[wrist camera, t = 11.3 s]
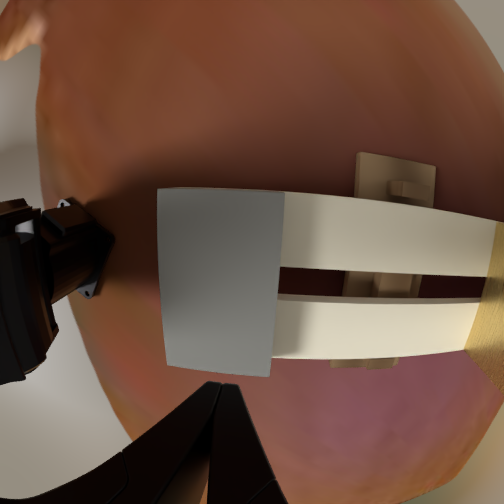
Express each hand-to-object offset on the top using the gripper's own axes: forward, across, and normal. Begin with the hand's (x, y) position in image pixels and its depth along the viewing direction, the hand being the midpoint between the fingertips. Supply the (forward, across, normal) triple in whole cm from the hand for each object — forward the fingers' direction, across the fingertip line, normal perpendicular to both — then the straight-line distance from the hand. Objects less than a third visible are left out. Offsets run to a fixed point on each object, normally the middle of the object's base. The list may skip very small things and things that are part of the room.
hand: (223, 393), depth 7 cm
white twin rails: (+10, -11, 0) cm, 15 cm away
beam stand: (+13, -10, 0) cm, 16 cm away
